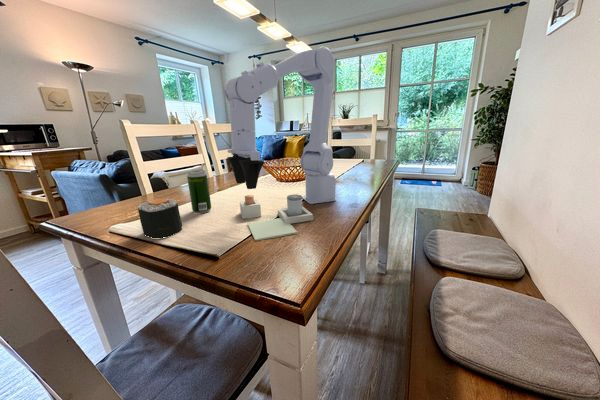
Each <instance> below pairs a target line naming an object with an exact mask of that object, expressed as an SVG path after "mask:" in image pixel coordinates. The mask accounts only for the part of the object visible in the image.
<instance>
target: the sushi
mask: <svg viewBox="0 0 600 400" xmlns="http://www.w3.org/2000/svg"><path fill="white" fill-rule="evenodd" d="M178 204H179V203H178V201H176V200H175V199H173V198H171V199H170V198H156V199H154V200H150V199H149V200H148V199H147V200H146V201H145V202H143V203H139V204H138V205H137V206H136V208H137V210H138V215H139V220H140V225H141V229H142V232H143V235H144V236H145V235H146V236H149V237H152V238H163V237H167V238H169V237H168V236H170V237H172V236H174V235H176V234H179V233H180V232H182V230H183V223H182V217H181V213H180V209H179V205H178ZM173 234H174V235H173ZM171 235H172V236H171ZM146 236H145V237H146ZM163 239H164V238H163Z"/></svg>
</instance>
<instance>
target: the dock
mask: <svg viewBox="0 0 600 400" xmlns="http://www.w3.org/2000/svg"><path fill="white" fill-rule="evenodd" d="M277 215H278V217H279V218H282V219H283V220H284V221H285V222H286V223H288V222H289V223H290V224H291V225H292V224H296V223H302V222H308V221H309V222H310V221H313V220H314V214H313V213H312V212H310V210H308V209H307V208H305V207H304V206H303V205H302V215H298V216H292V217H288V211H287V207H286V208H281V209H280V208H279V209H277Z"/></svg>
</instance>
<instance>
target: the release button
mask: <svg viewBox="0 0 600 400" xmlns="http://www.w3.org/2000/svg"><path fill="white" fill-rule="evenodd" d="M254 200H255V199H254V195H253V194H247V195H245V196H244V201H245V205H251V204H254Z"/></svg>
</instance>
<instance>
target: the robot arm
mask: <svg viewBox="0 0 600 400" xmlns="http://www.w3.org/2000/svg"><path fill="white" fill-rule="evenodd" d="M335 61H336V60H335V58H334V56H333V54H332V51H331V50H330V48H329V47H327V46H320V47H319V48H318V47H317V48H312V49H309V50H304V51H301V52H297V53H295V54H291V56H289V57H287V58H285V59H283V60H282V61H279V62H277V63H276V64H275V65H273V64H270V63H267V62H265V63H264V62H263V61H261V62H259V63H256V65H255V66H256V67H255V68H253V69H251V70H249V71H247V70H243V71H241V72H240V74H241V75H240V76H237V77H233V78H230V79H229V80H227V83H226V84H225V89H224V90H223V94H224V96H225V99H226V100H227V101H228V104H229V115H230V130H231V131H230V132H231V133H230V134H231V148H230V149H227V153H228V154H231V155H232V156H227V157H226V159H227V161H228V162H229V164H230V166H231V168H232V172H233V175H234V179H235V181H236V184H243V183H244V184H245V186H246V189H247V190H253V189H255V190H256V189H257V185H258V181H259V176H260V173H261V170H262V169H263V166H264V164H265V161H264V160H263V159H261V151H258V150H257V146H256V145H257V143H256V140H257V139H256V116H255V115H256V110H255V102H257V101H258V98H259V97H260V96H261V95H264V94H265V93H267V92H269V91H271V90H272V89H274V88H276V87H277V86H278V84H279V81H280V79H282V78H284V77H286V76H288V75H290V74H292V73H297V74H298V75H299V76H300V78H302V79H303V81H305V82H306V83H307V84H308V85H309V86H311V87H312V88H313V99H312V100H313V101H312V111H311V121H310V122H311V123H310V130H309V131H310V133H309V142H307V144H306V145H305V146H304V147H303V151H302V155H301V156H300V161H299V162H300V163H299V164H300V167H301V169H302V170H303V173H304V174H305V195H301V196H302V200H304V201H306V203H308V204H309V205H313V204H314V205H315V204H321V203H329V202H336V201H337V198H336V183H337V181H336V177H335V174H334V173H333V172H332V169H333V167H334V158H333V149H332V148H331V147H330V146H329V145H328V135H329V125H330V116H331V107H332V105H331V104H332V99H333V98H332V97H333V88H334V70H335Z"/></svg>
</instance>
